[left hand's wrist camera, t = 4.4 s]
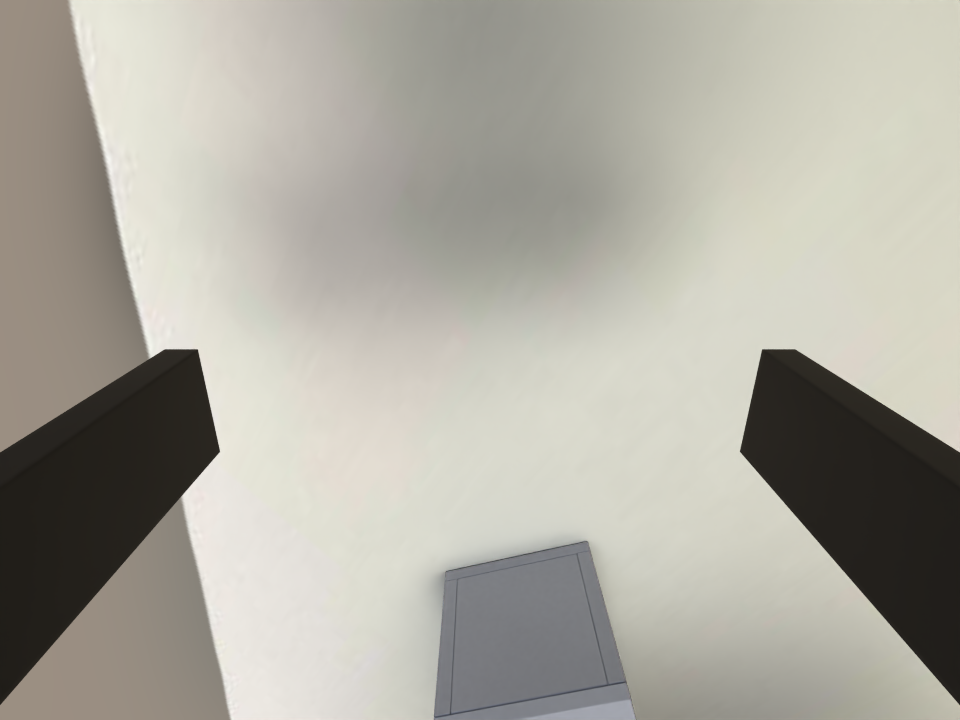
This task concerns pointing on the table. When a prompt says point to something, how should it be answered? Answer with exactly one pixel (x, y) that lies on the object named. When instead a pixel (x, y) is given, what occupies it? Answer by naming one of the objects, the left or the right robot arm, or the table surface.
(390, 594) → the table surface
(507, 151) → the table surface
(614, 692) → the lid
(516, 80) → the table surface
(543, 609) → the chest
